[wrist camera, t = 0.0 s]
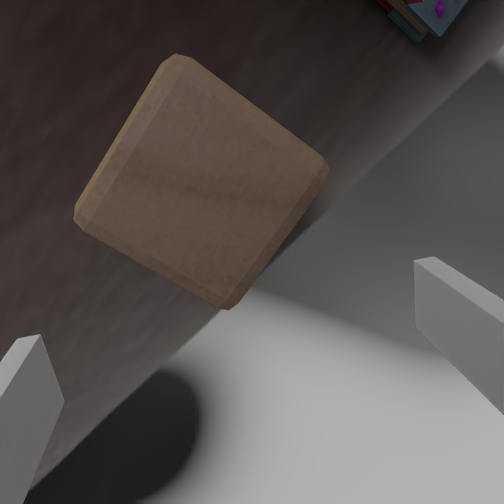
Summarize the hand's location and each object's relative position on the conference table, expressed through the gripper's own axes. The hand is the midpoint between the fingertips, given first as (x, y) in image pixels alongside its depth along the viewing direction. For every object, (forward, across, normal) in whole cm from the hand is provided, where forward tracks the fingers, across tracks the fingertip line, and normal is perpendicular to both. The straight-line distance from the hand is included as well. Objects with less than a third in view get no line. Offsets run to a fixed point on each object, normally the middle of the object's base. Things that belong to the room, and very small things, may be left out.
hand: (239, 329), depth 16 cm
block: (+28, 0, +3) cm, 28 cm away
